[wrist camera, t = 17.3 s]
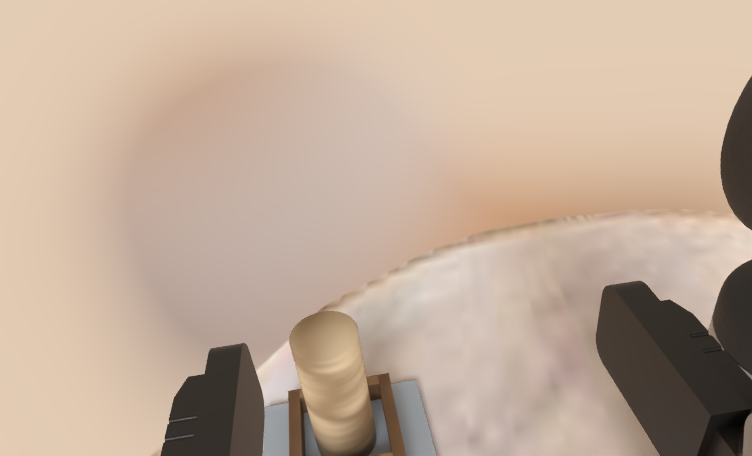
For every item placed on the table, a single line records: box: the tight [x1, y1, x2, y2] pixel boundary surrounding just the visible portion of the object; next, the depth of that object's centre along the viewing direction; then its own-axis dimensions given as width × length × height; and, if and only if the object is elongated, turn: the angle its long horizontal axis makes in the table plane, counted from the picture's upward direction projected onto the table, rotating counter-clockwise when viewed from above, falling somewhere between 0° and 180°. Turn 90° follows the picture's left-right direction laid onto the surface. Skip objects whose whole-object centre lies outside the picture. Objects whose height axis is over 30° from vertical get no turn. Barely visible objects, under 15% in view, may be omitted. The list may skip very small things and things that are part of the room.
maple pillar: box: [289, 311, 377, 456], centre depth 44 cm, size 5×5×12 cm
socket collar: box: [288, 373, 406, 456], centre depth 47 cm, size 9×9×2 cm
